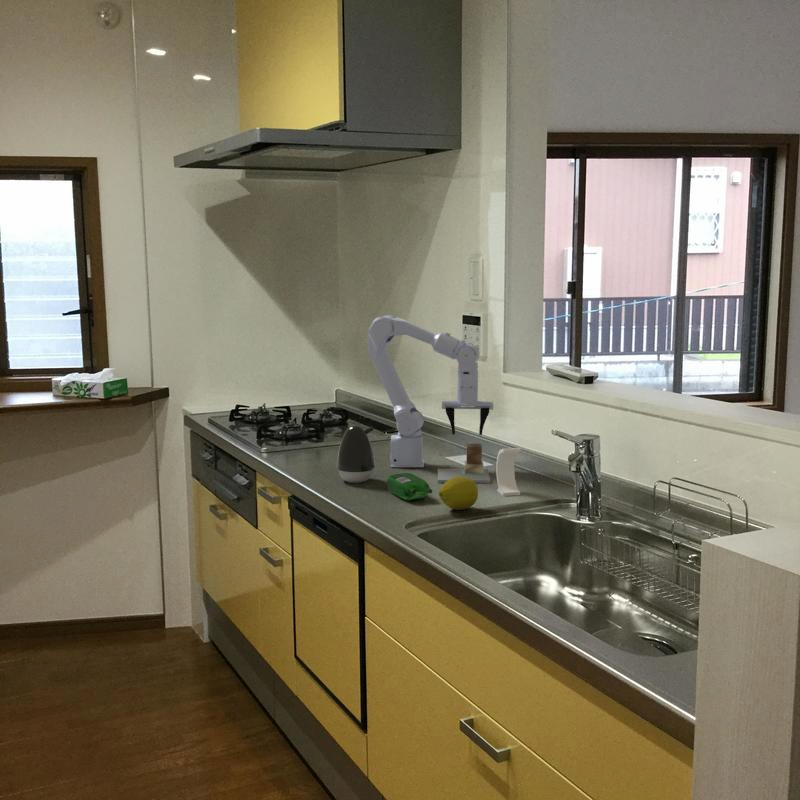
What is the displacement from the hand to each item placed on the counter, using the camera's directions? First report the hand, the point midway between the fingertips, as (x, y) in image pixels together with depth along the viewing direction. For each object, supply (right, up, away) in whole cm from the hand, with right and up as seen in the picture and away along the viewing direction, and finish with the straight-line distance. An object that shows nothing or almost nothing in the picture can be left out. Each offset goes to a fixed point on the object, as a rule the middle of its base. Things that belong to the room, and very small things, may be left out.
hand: (467, 434), depth 270 cm
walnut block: (+1, -8, -8) cm, 11 cm away
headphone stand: (+9, -14, -27) cm, 32 cm away
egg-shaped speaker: (-31, -12, -14) cm, 36 cm away
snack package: (-17, -15, -31) cm, 38 cm away
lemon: (-5, -17, -44) cm, 47 cm away
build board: (-2, -12, -10) cm, 15 cm away
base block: (+1, -10, -7) cm, 13 cm away
